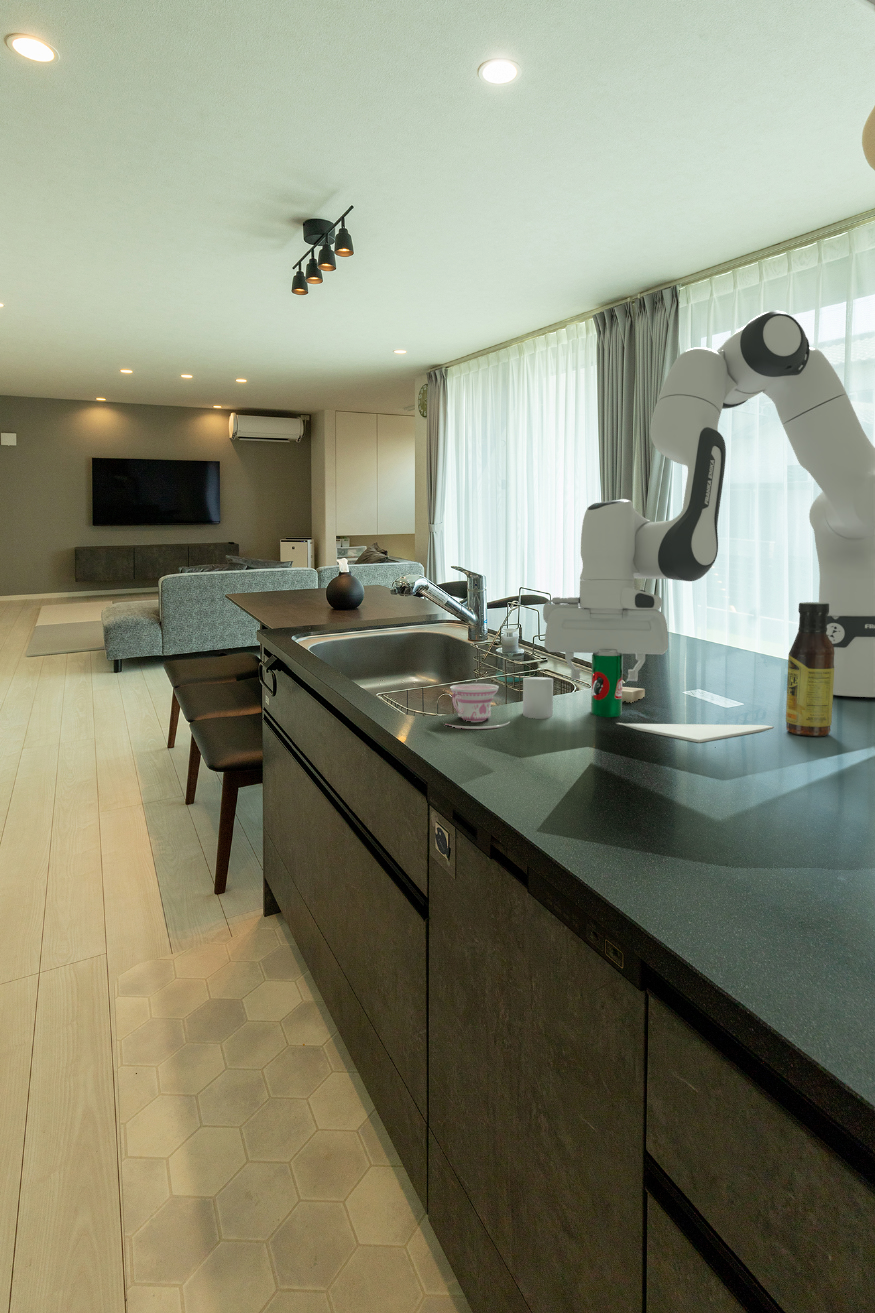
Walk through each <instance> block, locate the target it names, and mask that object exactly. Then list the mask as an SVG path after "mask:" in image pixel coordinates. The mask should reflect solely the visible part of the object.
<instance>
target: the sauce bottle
mask: <svg viewBox="0 0 875 1313" xmlns="http://www.w3.org/2000/svg"><path fill="white" fill-rule="evenodd" d="M798 613H799V620H798V622H799V623H798V625H799V626H798V630H797V634H796V635H795V639H794V641H793V643H792V645H791V647H790V650H789V652H788V660H787V661H788V662H787V678H786V679H787V680H786V683H787V684H786V685H787V686H786V700H785V702H786V704H785V705H786V706H785V707H786V708H785V722H786V723H785V724H786V725H785V728H786V730H787V732H789V733H791V734H792V735H795V736H797V735H799V736H806V737H824V736H828V735H829V734H830V732H831V726H832V720H833V718H832V717H833V704H834V703H833V701H834V695H833V685H834V647H833V644H832V641H830V639H829V637H828V636H827V634H826V632H827V615H828V614H829V603H823V602H819V601H818V602H817V601H816V602H813V601H810V602H809V601H807V602H799V604H798Z"/></svg>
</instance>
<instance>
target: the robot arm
mask: <svg viewBox="0 0 875 1313" xmlns="http://www.w3.org/2000/svg"><path fill="white" fill-rule="evenodd" d="M761 393H763V394H764V395H766V396H767V397H768V398H769V399H770V400H771V401H772V402H773V403H774V405H775V409H776V412H777V415H778V417H779V420H780V422H781V425H782V427H783V430H784V431H785V434H786V435H787V439H788V441H789V443H790V445H791V447H792V450H793V452H794V454H795V457H796V459H797V461H798V464H799V465H800V466H801V467H803V469H804V470H806V471H807V472H808V473H809V475H810V476H811V477H812V479H814V481H815V482H816V484H817V486H818V487H819V488H820V489H821V491H822V492H821V493H820V494H819V495H818V496H817V497H816V498H815V500H814V501H813V502H812V504H811V506H810V509H809V513H808V514H809V516H808V518H809V522H810V526H811V527H812V529H813V533H814V534H813V535H814V541H815V548H816V549H815V550H816V553H817V561H818V562H817V563H818V569H819V570H818V571H819V587H818V588H819V589H818V592H819V593H818V602H823V603H829V614H828V615H827V632H826V634H827V636H828V637H829V639H830V641H832V644H833V647H834V685H833V696H842V697H859V698H861V697H862V698H863V697H865V698H875V446H874V445H873V443H872V442H871V441H870V439H869V437H868V436H867V435H866V433H865V431H864V429H863V427H862V425H861V422H860V420H859V418H858V416H857V414H856V412H855V411H856V410H854V407H853V405H852V403H851V400H850V398H849V395H848V394H847V391H846V389H845V387H844V384H843V382H842V381H841V379H840V377H839V376H838V373H837V372H836V370H835V369H834V368H833V366H832V365H831V363H830V361H829V360H828V359H827V358H826V356H825V355H824V353H823V352H822V351H821V350H819V349H818V348H814V347H810V342H809V339H808V337H807V336H806V332H805V331H804V329H803V327H802V326H801V324H800V323H799V321H797V320H796V319H795V318H794V317H793V316H792V315H790V314H789V313H787V312H786V311H781V310H770V311H767V312H763V313H761V314H759V315H757V316H756V317H754V318H752V319H751V320H750V321H749V322H747V323H746V325H744V326H743V327H741V328H740V329H738V330H737V331H736V332H735V333H733V334H732V335H730V336H729V338H727V339H726V340H725V341H724V343H723V344H722V345H721V346H720V347H719V348H718V349H717V350H714V349H711V348H708V347H693V348H690V349H687V350H685V351H683V352H682V353H680V354H679V355H678V357H677V358H676V359H675V360H674V362H673V363H672V366H671V367H670V369H669V372H668V373H667V376H666V377H665V380H664V382H663V385H662V387H661V390H660V391H659V395H658V398H657V401H656V405H655V407H654V411H653V413H652V417H651V422H650V426H649V428H650V429H649V435H650V436H649V437H650V440H651V442H652V444H653V445H654V447H655V449H656V450H657V451H658V452H659V453H660V454H661V455H662V456H664V457H665V458H667V459H669V460H670V461H672V462H675V463H676V464H679V465H683V466H685V467H687V476H686V477H687V478H686V485H685V490H684V498H683V504H682V508H681V509H682V510H681V512H680V513H679V514H678V515H677V516H676V517H674V518H672V519H671V520H663V521H651V520H650V519H647V518H646V517H644V516H642V514H640V513H639V512H638V511H637V510H636V509H635V508H634V504H633V501H632V500H630V499H626V498H620V499H619V498H618V499H614V500H612V499H611V500H607V501H601V502H595V503H592V504H591V505H589V506H588V507H587V509H586V511H585V512H584V514H583V515H584V516H583V520H582V525H581V532H580V533H581V536H580V557H581V561H582V569H581V570H582V571H581V572H580V577H579V597H578V596H577V597H570V596H569V597H560V596H559V597H558V596H556V597H552V599H549V600H548V601H546V602H545V603H544V604H543V610H542V613H543V614H542V617H543V620H544V623H546V628H545V633H544V648H545V650H546V651H547V652H549V653H564V656H565V658H564V659H565V661H566V663H567V665H568V667H569V669H570V670H571V671H570V672H571V674H570V679H571V680H579V681H580V680H581V675H580V674H581V668H580V667H579V668H578V667H577V668H576V667H575V665H574V663H573V661H572V660H574V654H575V653H576V654H577V653H582V654H583V653H584V654H593V653H597V652H599V651H598V650H599V649H601V650H604V649H611V650H617V652H618V653H620V654H622V655H623V654H626V655H627V654H629V655H635V660H636V661H637V663H636V664H635V665H634V667H633V669H627V670H628V671H627V673H628V676H627V680H628V682H638V679H639V677H638V676H639V671H640V669H641V668H642V667H643V665H644V664H645V662H646V655H664V654H665V653H666V652H667V650H668V649H669V633H668V632H669V631H668V626H667V624H668V623H667V619H666V617H665V615H664V614H663V613H662V611H659V609H660V608H662V598H661V597H660V596H659V595H656V594H652V593H649V592H647V591H646V590H643V589H638V588H636V587H635V579H642V580H643V579H644V580H645V579H649V580H669V579H670V580H673V581H684V582H695V581H698V580H700V579H701V578H703V577H704V576H705V575H706V574H707V573H708V572H709V571H710V569H711V568H712V567H713V566H714V564H715V562H716V559H717V557H718V551H719V535H718V525H719V524H718V522H719V514H720V507H721V501H722V500H721V498H722V492H723V483H724V476H725V471H726V470H725V468H726V461H727V460H726V457H727V449H726V442H725V439H724V436H723V435H722V434H721V432H719V431H718V430H719V428H718V427H719V422H720V417H721V414H722V410H723V409H724V410H725V409H731V408H732V409H733V408H735V407H739V406H741V405H743V404H744V403H746V402H747V401H748V400H750V399H752V398H754V397H755V396H757V395H760V394H761Z"/></svg>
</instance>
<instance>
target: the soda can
mask: <svg viewBox="0 0 875 1313" xmlns="http://www.w3.org/2000/svg"><path fill="white" fill-rule="evenodd" d="M598 651H599V652H597V653H591V683H590V684H591V686H590V687H591V688H590V690H591V693H590V696H591V697H590V698H591V699H590V713H591V715H593V716H596V717H600V718H617V717H620V716H622V714H623V708H622V707H623V701H622V687H623V665H624V663H623V662H624V655H623V654H620V653H618V652H617V650H611V649H604V650H601V649H599V650H598Z"/></svg>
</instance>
